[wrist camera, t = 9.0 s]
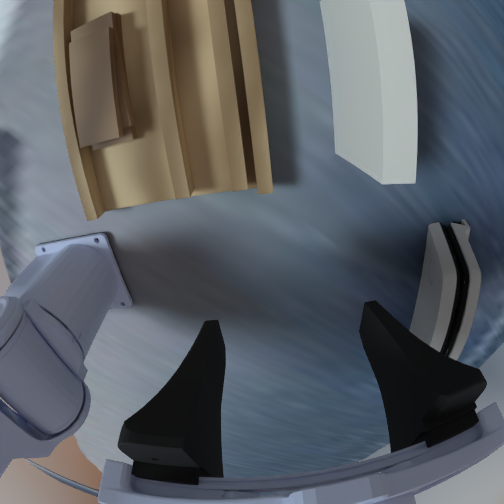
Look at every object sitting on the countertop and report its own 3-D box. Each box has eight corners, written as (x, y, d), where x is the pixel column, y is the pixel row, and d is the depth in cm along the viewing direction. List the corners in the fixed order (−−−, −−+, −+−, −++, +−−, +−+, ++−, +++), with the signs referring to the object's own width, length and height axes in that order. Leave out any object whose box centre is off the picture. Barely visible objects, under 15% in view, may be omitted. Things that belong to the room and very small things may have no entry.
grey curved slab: (437, 332, 30) (445, 397, 22) (405, 333, 32) (407, 399, 24) (465, 215, 22) (503, 276, 14) (424, 214, 23) (451, 277, 16)
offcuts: (95, 149, 18) (82, 155, 16) (79, 32, 13) (65, 28, 11) (140, 136, 17) (129, 141, 16) (125, 13, 12) (113, 6, 11)
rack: (99, 209, 21) (85, 222, 19) (68, -5, 11) (52, -11, 9) (270, 183, 20) (273, 194, 18) (239, -55, 10) (239, -71, 8)
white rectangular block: (334, 152, 19) (382, 184, 12) (319, 2, 13) (358, -42, 6) (359, 152, 19) (415, 183, 12) (345, 4, 13) (394, -33, 6)
